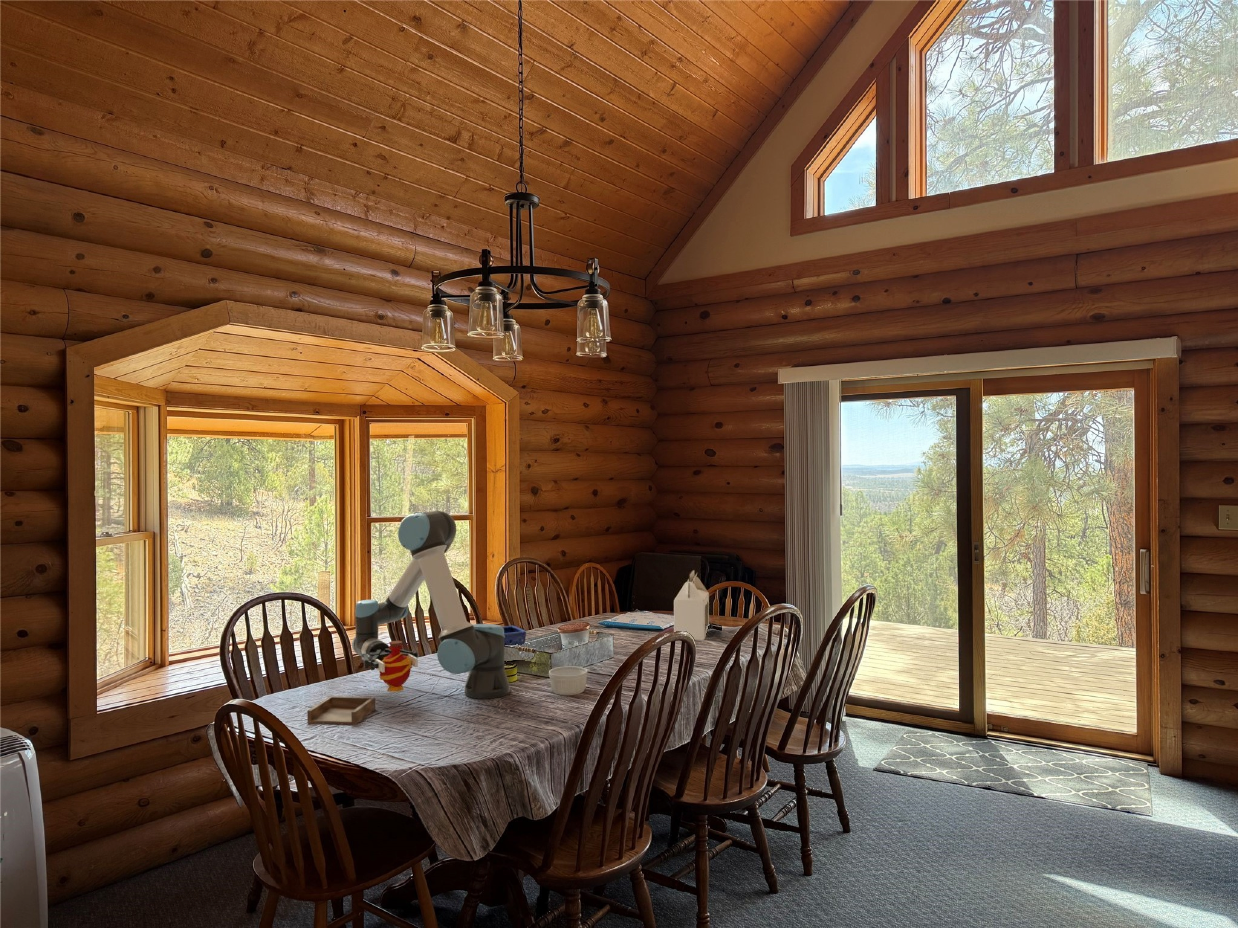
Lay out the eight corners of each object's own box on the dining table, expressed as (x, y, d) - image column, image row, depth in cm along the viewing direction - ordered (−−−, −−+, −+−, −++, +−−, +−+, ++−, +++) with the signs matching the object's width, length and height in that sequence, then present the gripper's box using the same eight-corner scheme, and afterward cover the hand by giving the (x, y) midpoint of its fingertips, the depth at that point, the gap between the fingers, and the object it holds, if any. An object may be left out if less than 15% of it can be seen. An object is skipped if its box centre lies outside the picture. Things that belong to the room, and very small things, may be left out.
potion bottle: (403, 694, 255) (403, 646, 255) (372, 692, 257) (372, 644, 257) (418, 685, 265) (418, 639, 265) (388, 683, 267) (388, 637, 267)
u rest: (330, 707, 263) (330, 695, 263) (375, 709, 261) (375, 697, 261) (307, 722, 248) (307, 710, 248) (355, 724, 246) (355, 711, 246)
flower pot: (495, 665, 316) (495, 634, 315) (482, 658, 327) (482, 628, 327) (527, 661, 322) (527, 630, 322) (513, 654, 334) (513, 624, 334)
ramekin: (543, 695, 277) (543, 674, 277) (555, 684, 290) (555, 664, 289) (581, 697, 274) (581, 676, 274) (592, 686, 286) (592, 666, 286)
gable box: (704, 640, 358) (703, 576, 357) (673, 639, 360) (673, 575, 360) (708, 629, 380) (708, 569, 379) (680, 628, 382) (680, 568, 382)
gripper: (409, 657, 282) (434, 671, 264) (342, 667, 269) (364, 682, 251) (408, 636, 282) (434, 648, 264) (342, 645, 269) (364, 658, 251)
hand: (400, 665), depth 257 cm, fingers closed on potion bottle, 10 cm apart
